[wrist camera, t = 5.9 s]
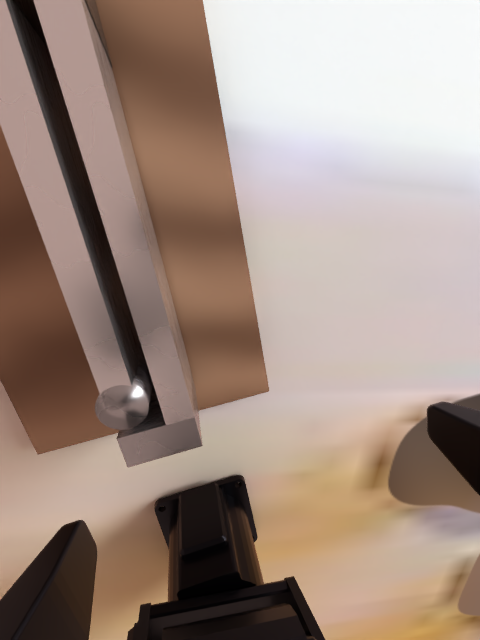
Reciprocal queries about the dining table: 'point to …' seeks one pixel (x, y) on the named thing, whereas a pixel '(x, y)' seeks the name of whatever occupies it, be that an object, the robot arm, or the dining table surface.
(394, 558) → the dining table surface
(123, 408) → the tongs arm
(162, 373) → the frame
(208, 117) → the board
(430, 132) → the dining table surface
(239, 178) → the dining table surface
